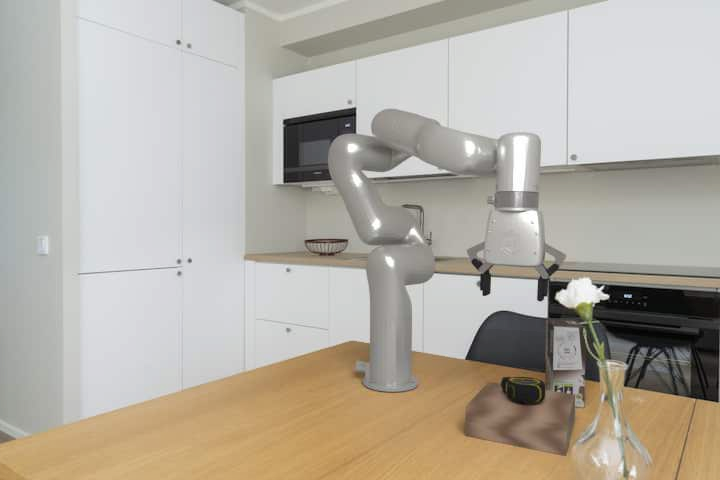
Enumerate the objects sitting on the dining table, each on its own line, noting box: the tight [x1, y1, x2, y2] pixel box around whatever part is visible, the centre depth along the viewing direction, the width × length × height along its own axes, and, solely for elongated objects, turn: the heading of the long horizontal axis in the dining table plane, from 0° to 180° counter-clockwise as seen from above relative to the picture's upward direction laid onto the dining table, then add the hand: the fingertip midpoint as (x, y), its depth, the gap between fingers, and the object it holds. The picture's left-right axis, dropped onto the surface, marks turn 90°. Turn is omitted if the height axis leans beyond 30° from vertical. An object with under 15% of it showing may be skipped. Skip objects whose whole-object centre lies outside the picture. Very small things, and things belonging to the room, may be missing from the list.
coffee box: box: [545, 318, 587, 408], centre depth 105 cm, size 9×6×16 cm
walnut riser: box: [464, 381, 576, 457], centre depth 89 cm, size 16×16×5 cm
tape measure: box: [500, 376, 546, 404], centre depth 89 cm, size 7×7×4 cm
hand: (512, 297), depth 91 cm, fingers open, 9 cm apart
